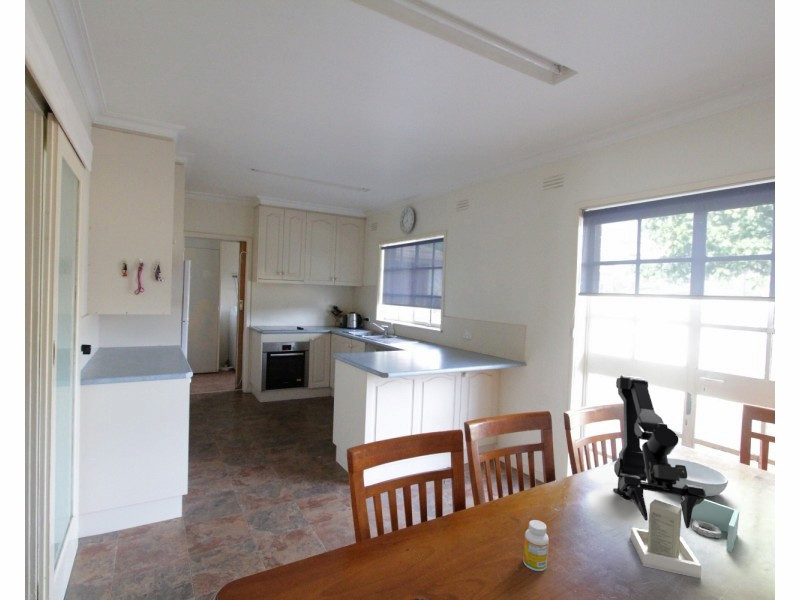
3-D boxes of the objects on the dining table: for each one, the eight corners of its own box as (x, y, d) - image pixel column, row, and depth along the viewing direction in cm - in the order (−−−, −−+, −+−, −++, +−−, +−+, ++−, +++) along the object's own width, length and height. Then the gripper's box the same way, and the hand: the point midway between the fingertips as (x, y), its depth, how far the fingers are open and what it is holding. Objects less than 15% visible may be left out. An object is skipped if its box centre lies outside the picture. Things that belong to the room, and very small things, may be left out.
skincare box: (679, 556, 105) (683, 508, 104) (674, 563, 102) (679, 514, 101) (650, 543, 109) (654, 498, 109) (645, 550, 106) (649, 503, 106)
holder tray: (630, 537, 113) (631, 527, 112) (680, 547, 109) (681, 536, 109) (643, 566, 101) (644, 554, 101) (700, 578, 98) (701, 565, 98)
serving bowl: (722, 486, 148) (724, 467, 148) (730, 512, 130) (732, 490, 130) (654, 469, 159) (655, 452, 159) (652, 490, 141) (654, 471, 141)
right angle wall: (686, 517, 126) (688, 493, 126) (736, 536, 118) (739, 510, 117) (677, 533, 118) (679, 507, 117) (731, 554, 109) (733, 526, 109)
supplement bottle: (526, 553, 103) (529, 515, 103) (548, 562, 100) (551, 523, 100) (520, 565, 98) (523, 525, 98) (543, 575, 96) (547, 534, 95)
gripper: (626, 444, 111) (633, 505, 101) (706, 456, 106) (723, 521, 96) (616, 461, 119) (622, 519, 109) (691, 473, 114) (705, 535, 104)
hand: (666, 523), depth 104 cm, fingers open, 9 cm apart
